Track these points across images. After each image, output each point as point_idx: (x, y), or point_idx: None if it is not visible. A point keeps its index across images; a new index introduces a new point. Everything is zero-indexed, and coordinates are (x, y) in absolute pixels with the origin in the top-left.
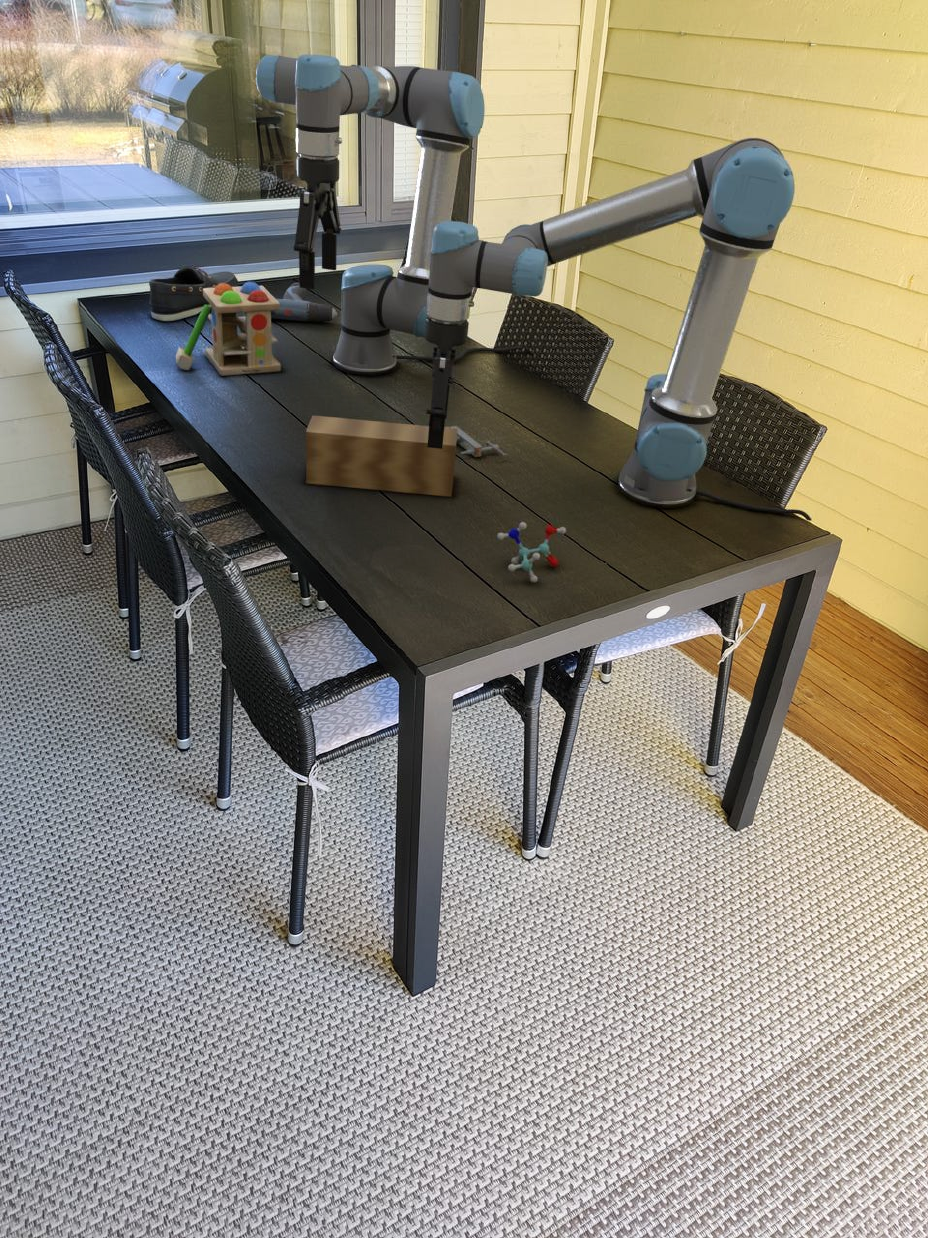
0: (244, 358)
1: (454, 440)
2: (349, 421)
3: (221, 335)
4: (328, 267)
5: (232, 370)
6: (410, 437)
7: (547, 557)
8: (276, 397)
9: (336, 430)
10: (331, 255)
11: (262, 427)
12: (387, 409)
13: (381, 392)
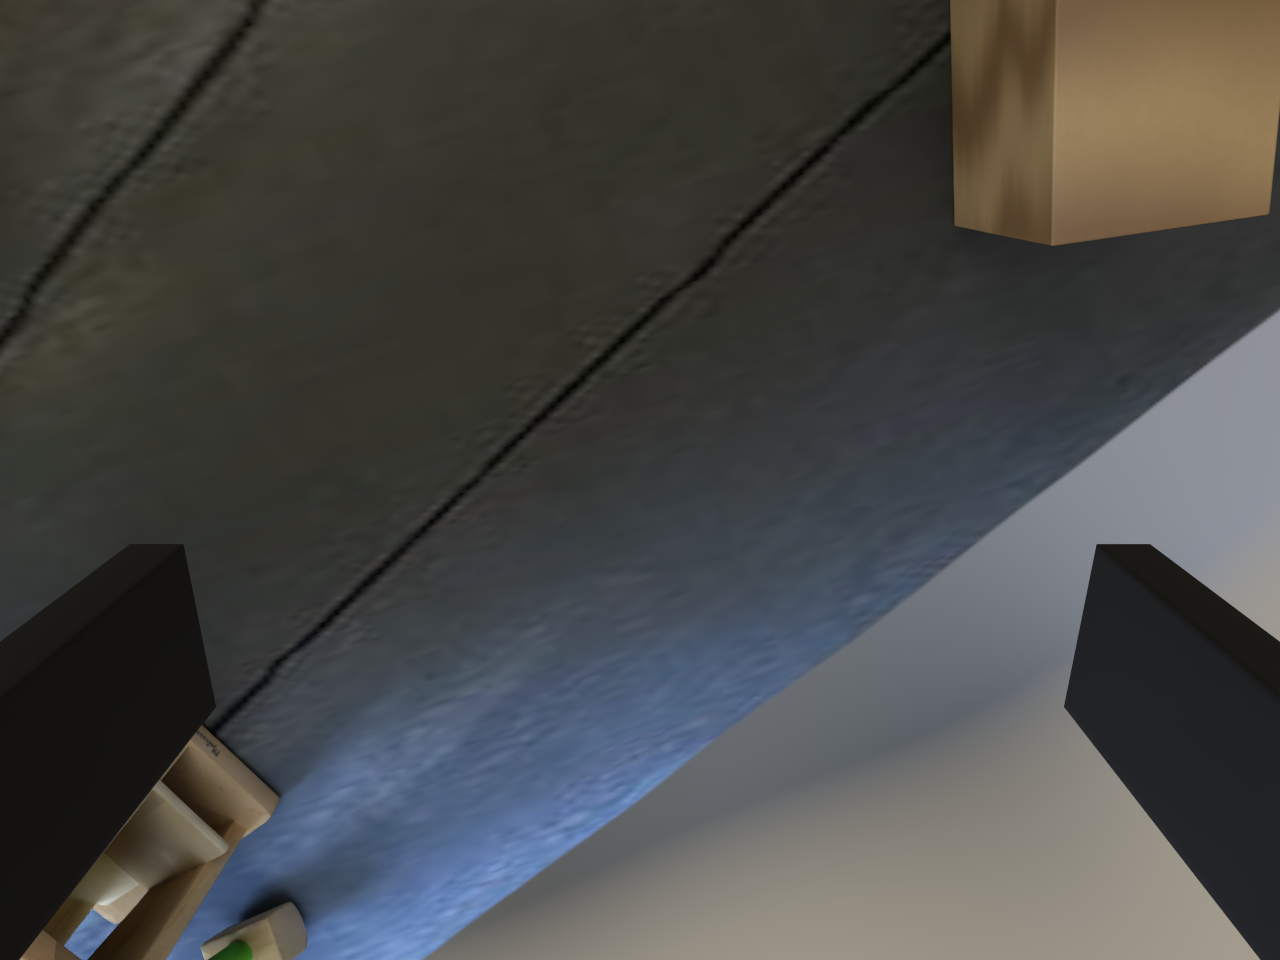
0: None
1: None
2: (1096, 22)
3: (174, 920)
4: (187, 642)
5: (245, 782)
6: None
7: None
8: (364, 567)
9: (1232, 58)
10: (78, 703)
11: (663, 521)
12: (244, 73)
13: (61, 161)
